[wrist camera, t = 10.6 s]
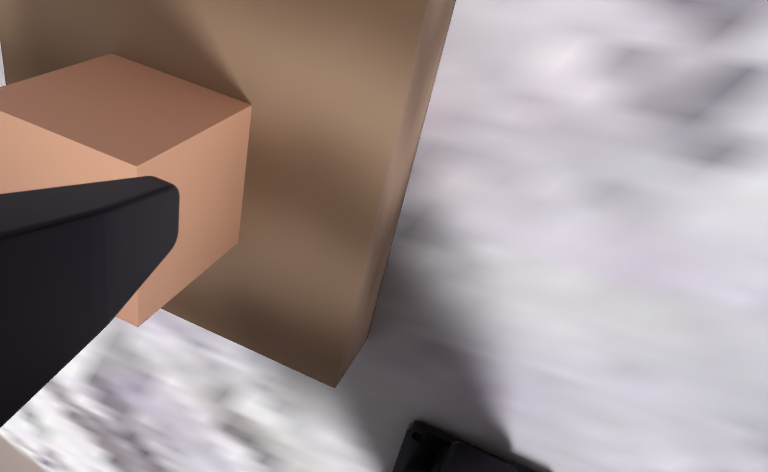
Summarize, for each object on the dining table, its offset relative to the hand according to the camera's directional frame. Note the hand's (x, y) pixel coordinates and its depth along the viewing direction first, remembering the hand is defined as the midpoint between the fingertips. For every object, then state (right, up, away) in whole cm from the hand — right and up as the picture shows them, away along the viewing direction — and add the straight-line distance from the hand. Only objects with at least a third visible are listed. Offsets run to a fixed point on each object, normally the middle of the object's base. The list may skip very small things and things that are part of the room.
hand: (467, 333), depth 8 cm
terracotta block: (-8, +4, +12) cm, 15 cm away
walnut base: (-7, +5, +15) cm, 17 cm away
